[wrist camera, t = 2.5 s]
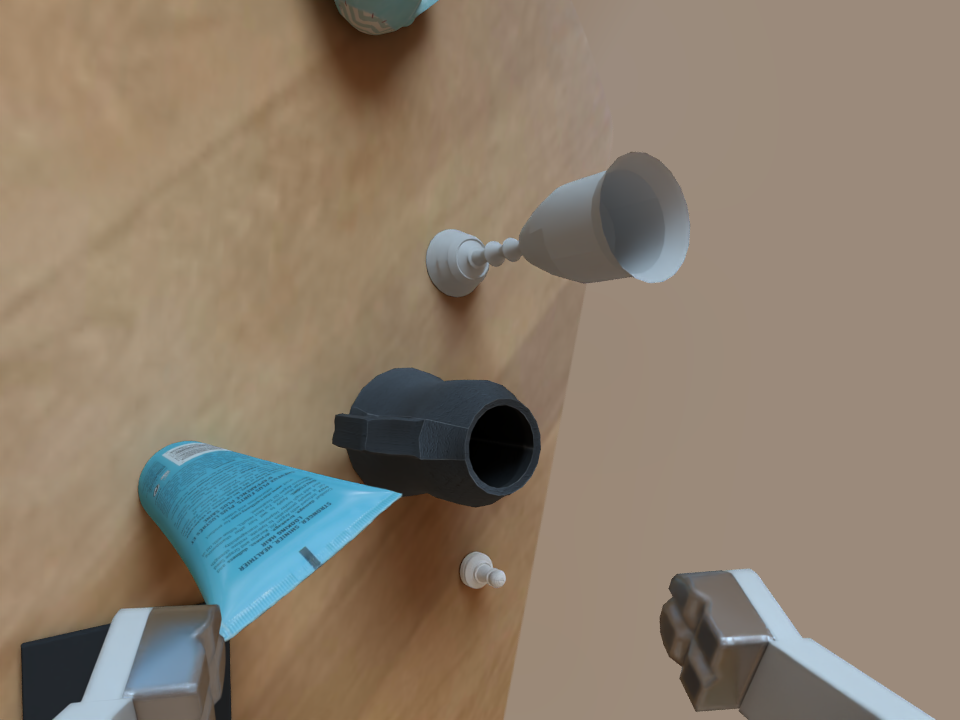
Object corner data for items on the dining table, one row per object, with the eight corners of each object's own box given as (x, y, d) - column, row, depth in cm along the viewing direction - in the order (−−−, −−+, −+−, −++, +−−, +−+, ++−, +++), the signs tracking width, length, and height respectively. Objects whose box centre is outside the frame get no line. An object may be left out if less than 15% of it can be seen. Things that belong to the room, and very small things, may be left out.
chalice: (502, 240, 52) (699, 189, 37) (482, 322, 51) (678, 302, 36) (425, 200, 48) (613, 126, 33) (402, 288, 47) (587, 251, 32)
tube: (155, 559, 37) (272, 694, 22) (97, 494, 35) (177, 591, 20) (262, 470, 41) (428, 531, 25) (214, 408, 39) (359, 433, 23)
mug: (464, 375, 50) (569, 376, 41) (452, 497, 49) (556, 526, 40) (312, 353, 43) (398, 349, 34) (295, 496, 42) (378, 531, 33)
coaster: (20, 643, 33) (21, 647, 33) (226, 597, 39) (228, 600, 39) (25, 841, 33) (26, 848, 33) (229, 765, 39) (232, 770, 39)
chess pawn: (482, 586, 50) (511, 599, 48) (455, 585, 49) (484, 598, 46) (489, 552, 51) (518, 563, 48) (462, 549, 49) (491, 560, 46)
